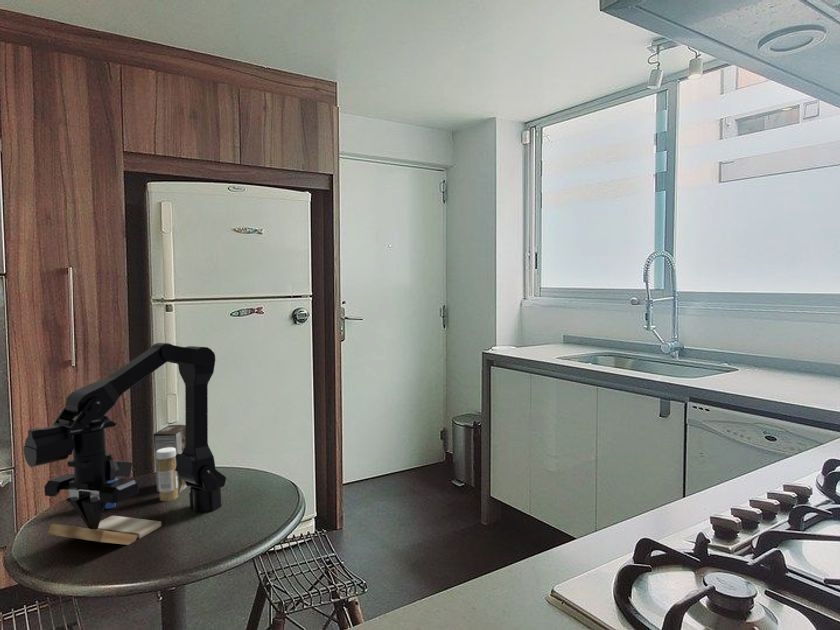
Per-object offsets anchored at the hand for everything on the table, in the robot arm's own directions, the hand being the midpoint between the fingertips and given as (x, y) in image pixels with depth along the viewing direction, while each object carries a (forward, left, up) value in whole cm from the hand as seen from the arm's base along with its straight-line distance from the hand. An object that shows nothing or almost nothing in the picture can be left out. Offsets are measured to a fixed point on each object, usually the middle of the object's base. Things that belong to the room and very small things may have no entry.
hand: (94, 529), depth 109 cm
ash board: (+3, -10, -6) cm, 12 cm away
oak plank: (+3, -2, -3) cm, 5 cm away
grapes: (+20, -18, -6) cm, 28 cm away
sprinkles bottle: (+7, -27, -6) cm, 29 cm away
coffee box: (+13, -36, -6) cm, 39 cm away
